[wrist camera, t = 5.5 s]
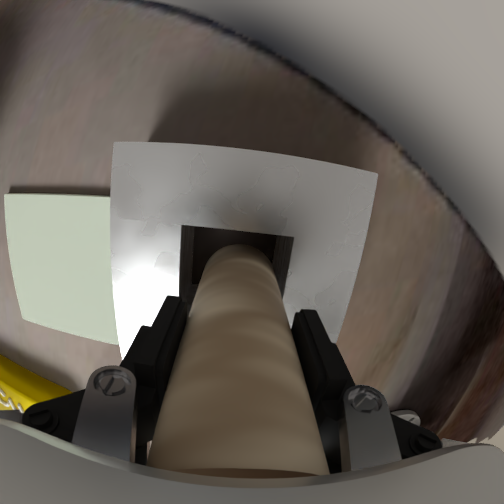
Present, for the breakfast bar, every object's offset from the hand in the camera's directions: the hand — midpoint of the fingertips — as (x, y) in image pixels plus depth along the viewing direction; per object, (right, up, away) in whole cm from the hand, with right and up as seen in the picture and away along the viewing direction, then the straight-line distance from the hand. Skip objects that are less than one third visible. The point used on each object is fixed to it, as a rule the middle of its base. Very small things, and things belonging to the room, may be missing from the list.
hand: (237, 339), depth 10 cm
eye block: (-1, +3, +9) cm, 9 cm away
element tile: (-28, -18, +15) cm, 36 cm away
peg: (0, +2, +6) cm, 6 cm away
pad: (-15, +2, +8) cm, 17 cm away
